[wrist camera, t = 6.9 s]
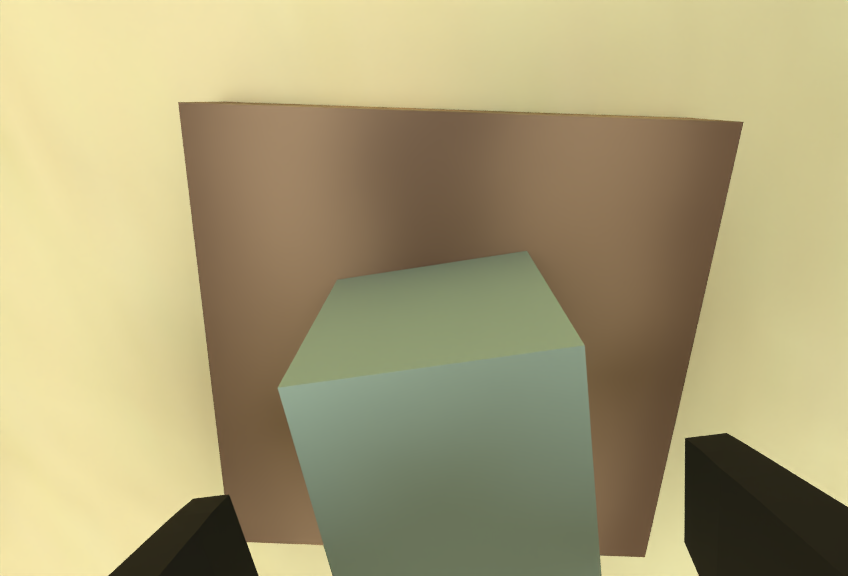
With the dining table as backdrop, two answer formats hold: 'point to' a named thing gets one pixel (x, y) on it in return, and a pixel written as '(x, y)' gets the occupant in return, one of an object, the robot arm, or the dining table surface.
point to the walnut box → (450, 242)
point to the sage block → (447, 424)
